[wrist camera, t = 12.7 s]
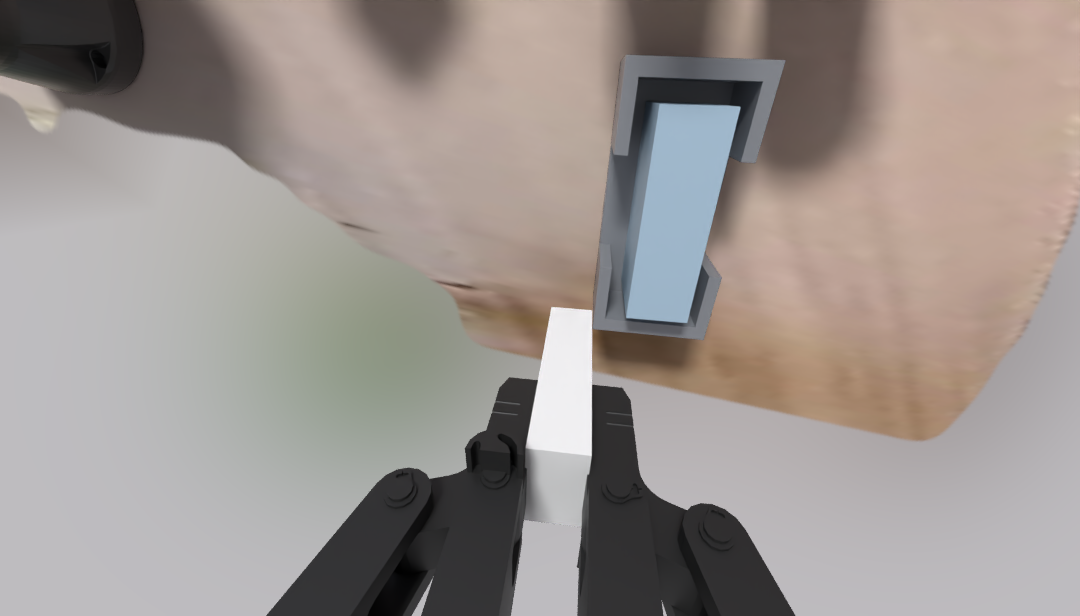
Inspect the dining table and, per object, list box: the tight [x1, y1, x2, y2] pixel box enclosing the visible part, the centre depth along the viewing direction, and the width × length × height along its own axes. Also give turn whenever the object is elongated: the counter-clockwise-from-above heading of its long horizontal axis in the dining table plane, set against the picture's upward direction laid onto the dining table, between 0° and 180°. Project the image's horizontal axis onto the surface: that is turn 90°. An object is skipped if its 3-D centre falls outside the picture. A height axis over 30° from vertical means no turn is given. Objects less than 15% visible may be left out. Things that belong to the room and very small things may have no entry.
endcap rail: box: [593, 55, 786, 340], centre depth 33 cm, size 10×21×7 cm, turn 177°
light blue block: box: [621, 101, 741, 323], centre depth 32 cm, size 5×16×8 cm, turn 178°
